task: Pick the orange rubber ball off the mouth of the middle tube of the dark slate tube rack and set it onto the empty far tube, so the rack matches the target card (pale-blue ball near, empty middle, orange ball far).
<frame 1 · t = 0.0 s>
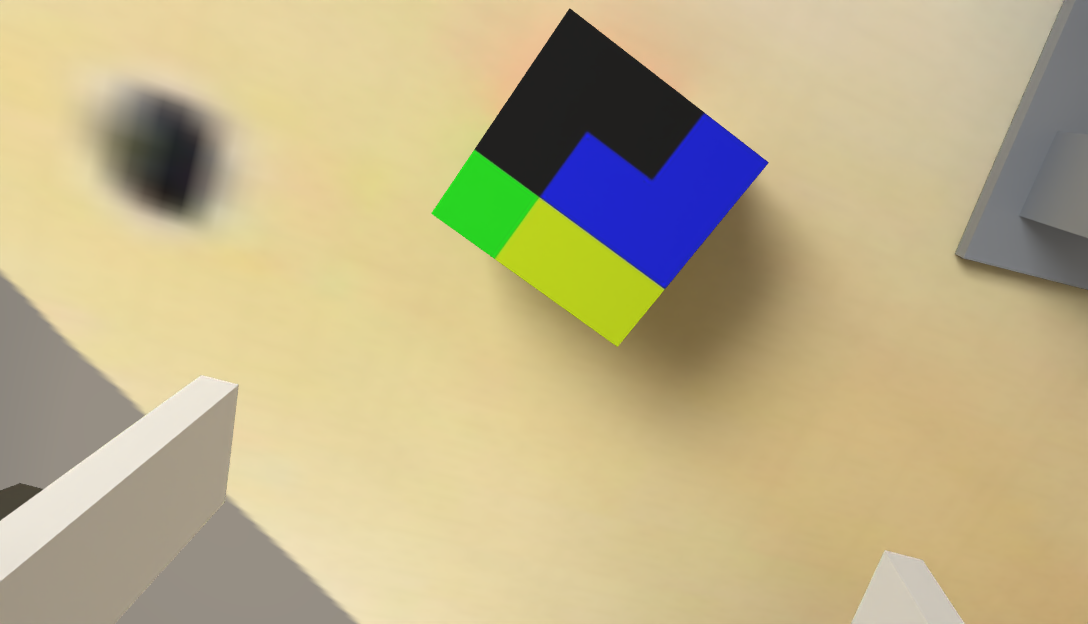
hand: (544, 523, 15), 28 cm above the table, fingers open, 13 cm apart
puzzle toy: (597, 162, 40), on the table
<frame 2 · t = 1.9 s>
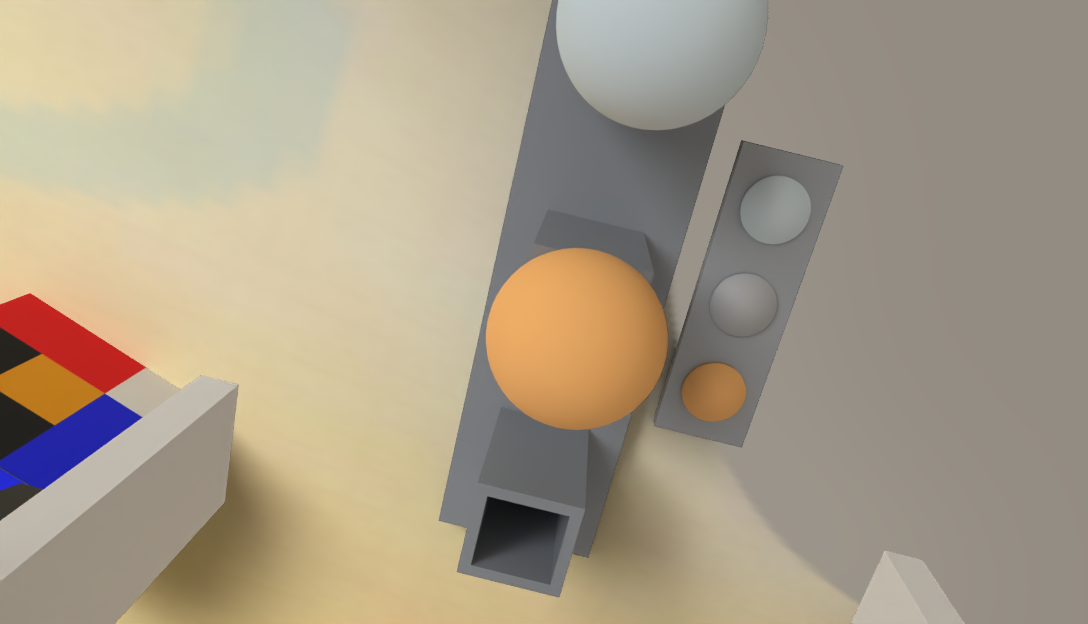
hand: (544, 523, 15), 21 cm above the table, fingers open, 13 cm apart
orange ball: (576, 338, 24), point 10 cm above the table, touching tube rack
puzzle toy: (82, 416, 39), on the table
blue ball: (659, 23, 21), point 10 cm above the table, touching tube rack
target card: (740, 300, 34), on the table
tube rack: (584, 262, 34), on the table
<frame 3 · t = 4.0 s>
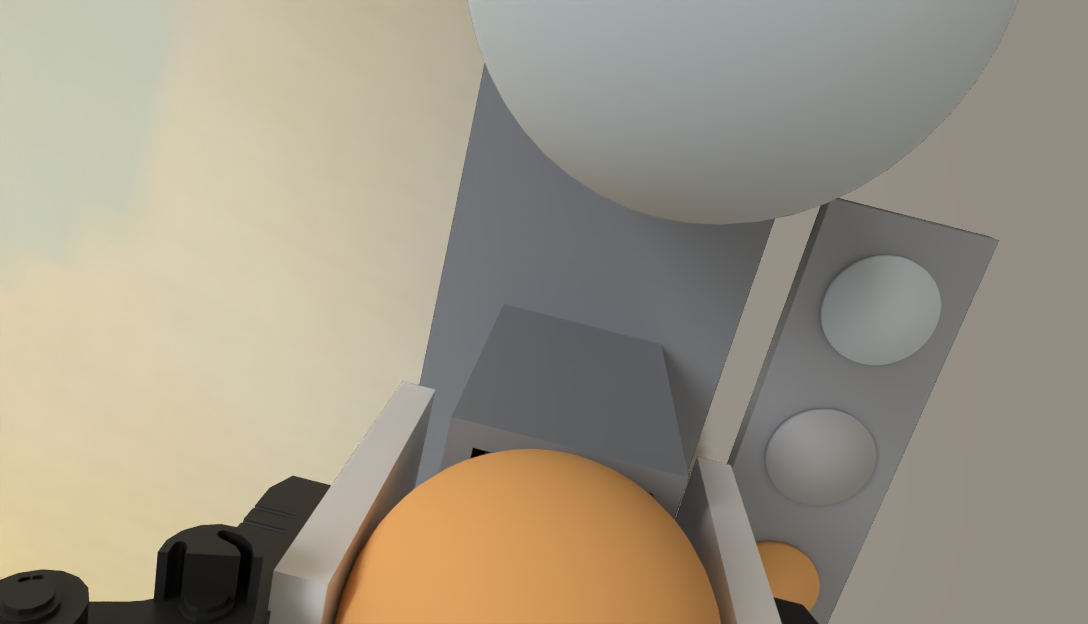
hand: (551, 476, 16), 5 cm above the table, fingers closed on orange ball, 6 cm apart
target card: (813, 445, 21), on the table
tube rack: (564, 382, 21), on the table
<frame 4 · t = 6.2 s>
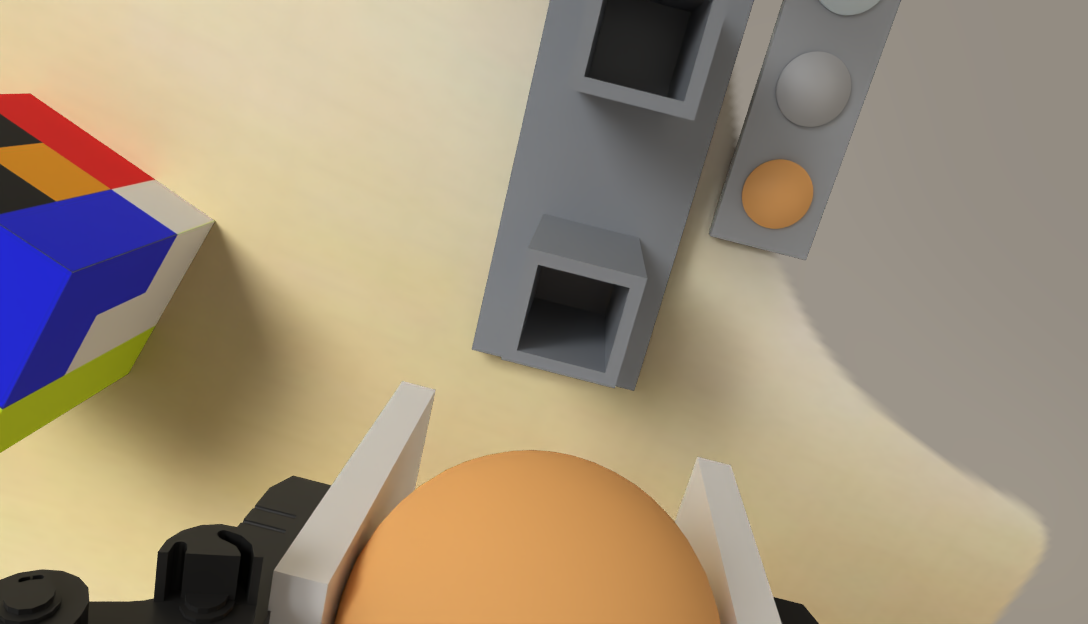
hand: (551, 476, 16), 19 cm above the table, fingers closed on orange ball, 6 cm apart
puzzle toy: (85, 240, 36), on the table
target card: (808, 89, 31), on the table
tube rack: (638, 46, 31), on the table
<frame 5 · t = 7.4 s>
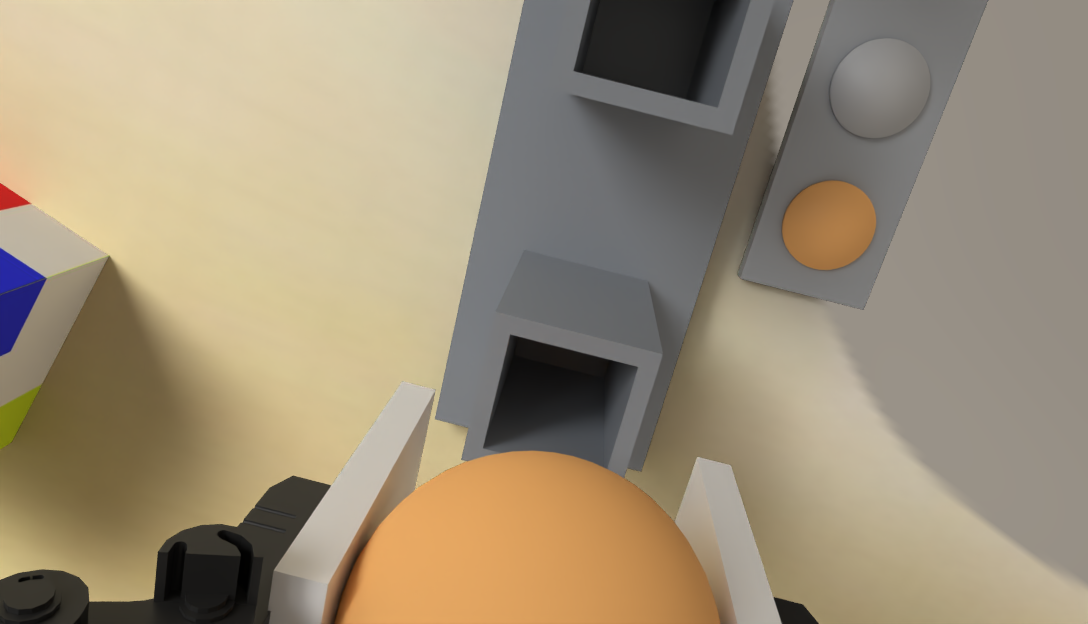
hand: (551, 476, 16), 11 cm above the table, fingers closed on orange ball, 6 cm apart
target card: (871, 88, 24), on the table
tube rack: (647, 31, 24), on the table
when the fingers open (7 cm above the table, at t = 8.6 s): orange ball drops 1 cm, resting on tube rack.
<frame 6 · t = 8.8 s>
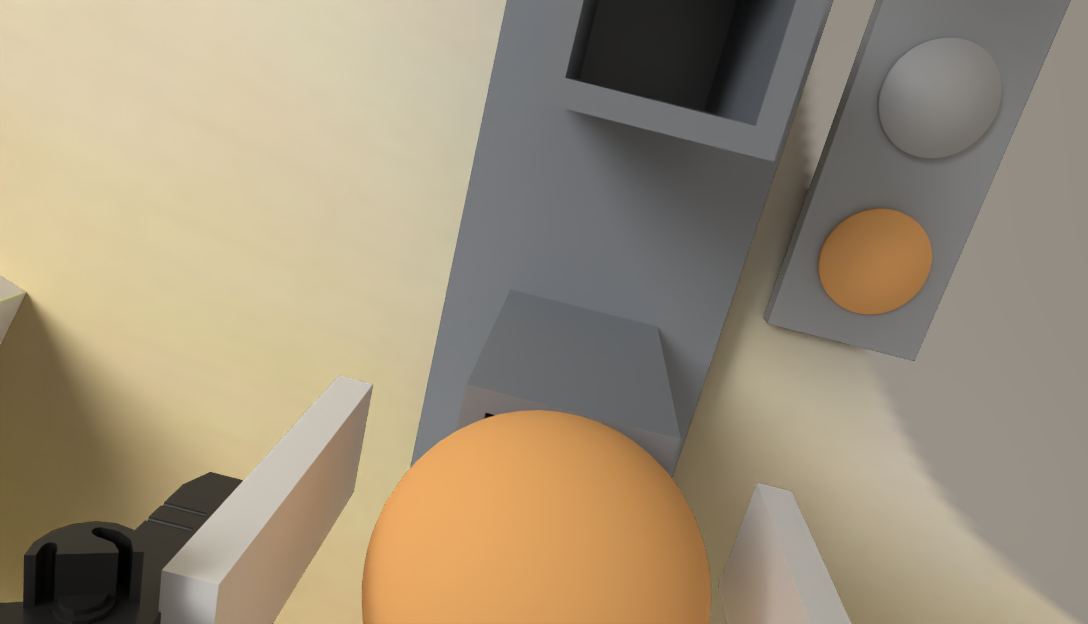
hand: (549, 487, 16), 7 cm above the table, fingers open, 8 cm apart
orange ball: (536, 581, 13), point 10 cm above the table, touching tube rack
target card: (927, 98, 20), on the table
tube rack: (657, 30, 20), on the table
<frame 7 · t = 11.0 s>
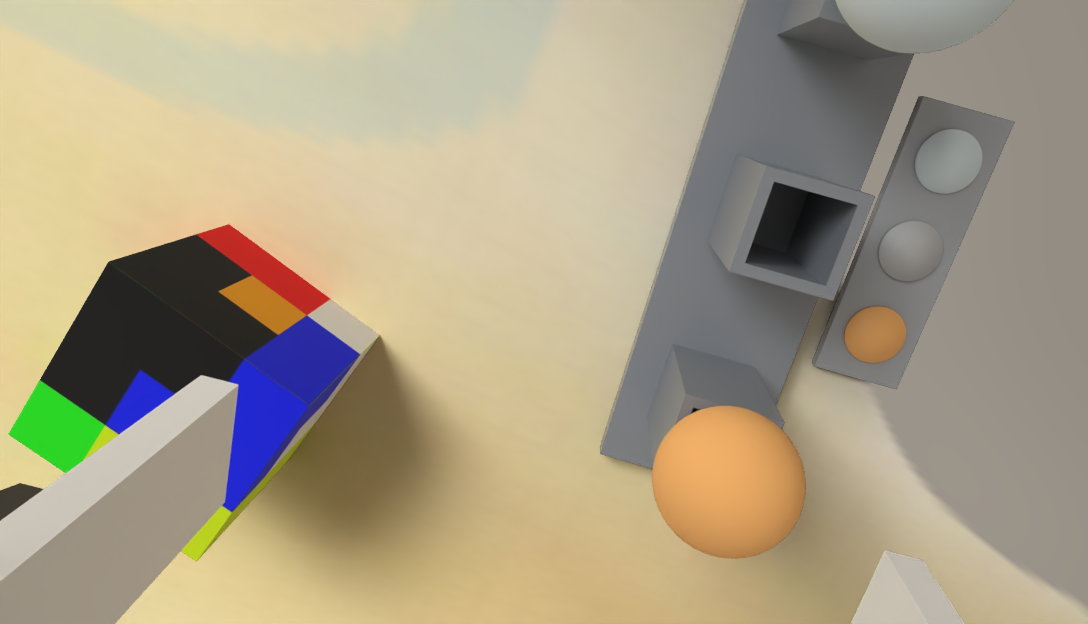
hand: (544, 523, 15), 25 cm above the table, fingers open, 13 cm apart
orange ball: (727, 480, 30), point 10 cm above the table, touching tube rack
puzzle toy: (261, 346, 42), on the table
target card: (904, 248, 37), on the table
tube rack: (760, 207, 37), on the table
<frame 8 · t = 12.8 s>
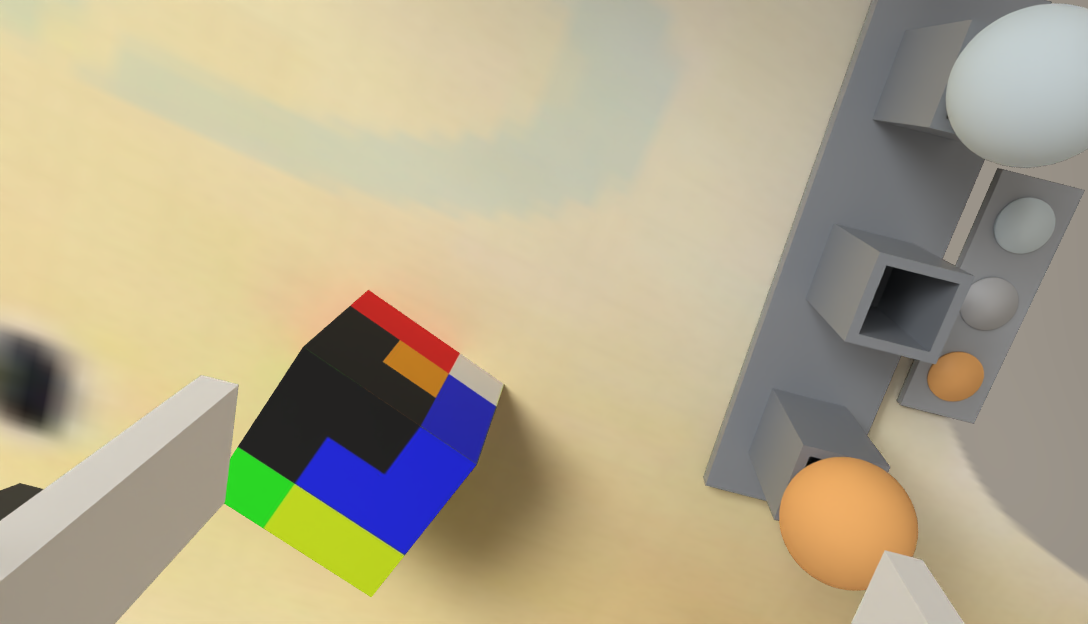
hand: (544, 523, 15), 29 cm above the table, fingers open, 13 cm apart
orange ball: (846, 522, 34), point 10 cm above the table, touching tube rack
puzzle toy: (395, 395, 46), on the table
blue ball: (1034, 88, 28), point 10 cm above the table, touching tube rack
target card: (982, 300, 41), on the table
tube rack: (852, 267, 41), on the table
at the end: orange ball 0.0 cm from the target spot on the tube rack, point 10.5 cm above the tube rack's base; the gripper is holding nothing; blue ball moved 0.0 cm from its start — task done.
